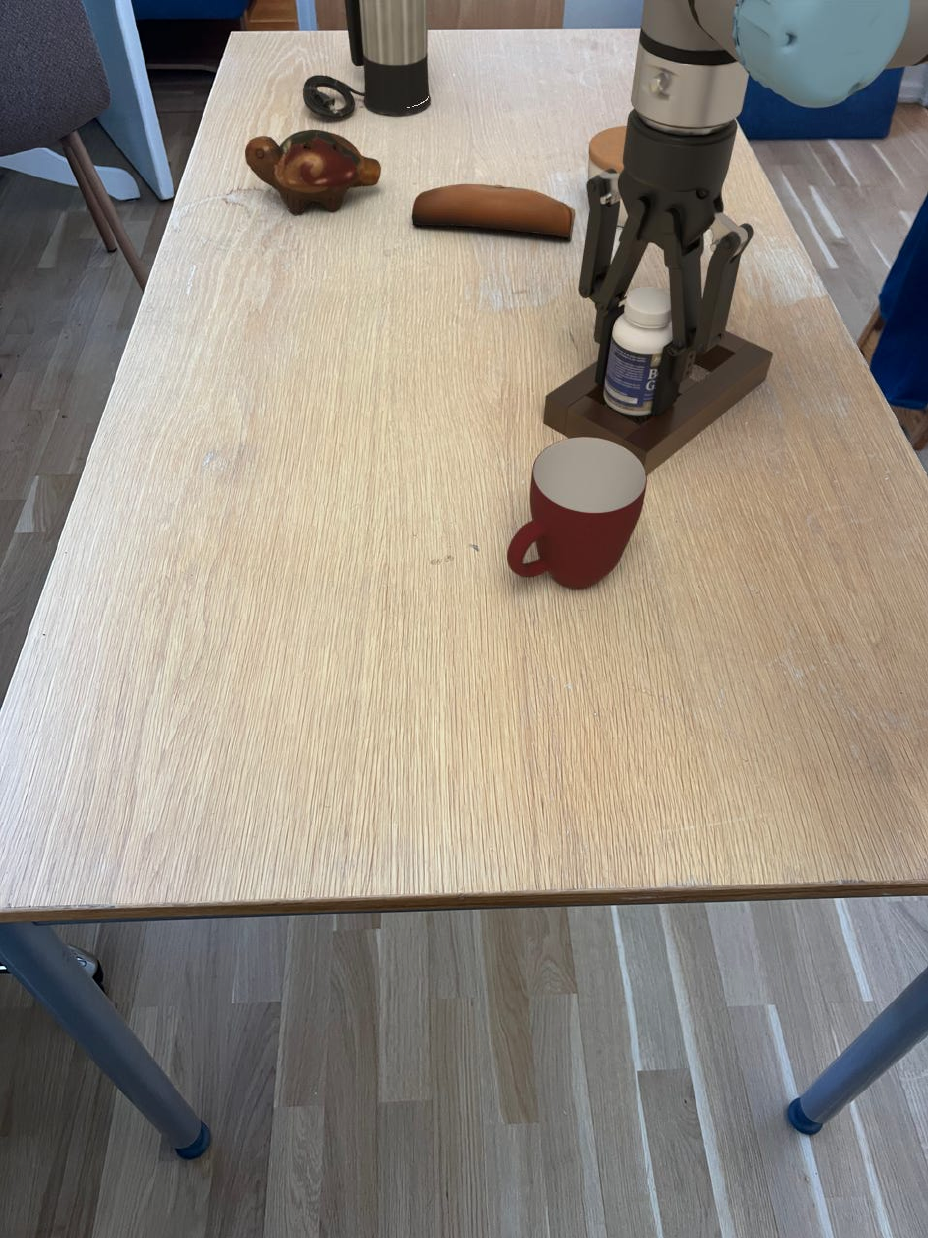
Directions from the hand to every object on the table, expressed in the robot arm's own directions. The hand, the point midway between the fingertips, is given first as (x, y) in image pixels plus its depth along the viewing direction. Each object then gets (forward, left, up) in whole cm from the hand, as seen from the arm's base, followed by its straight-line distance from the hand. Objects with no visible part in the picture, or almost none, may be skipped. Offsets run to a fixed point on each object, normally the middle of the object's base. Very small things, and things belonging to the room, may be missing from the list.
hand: (634, 391), depth 82 cm
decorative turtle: (+51, -7, -4) cm, 52 cm away
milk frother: (+66, -29, -4) cm, 72 cm away
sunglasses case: (+33, -18, -4) cm, 38 cm away
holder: (0, -4, -3) cm, 5 cm away
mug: (-8, +19, -4) cm, 21 cm away
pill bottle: (0, 0, -1) cm, 1 cm away
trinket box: (+23, -30, -4) cm, 38 cm away
